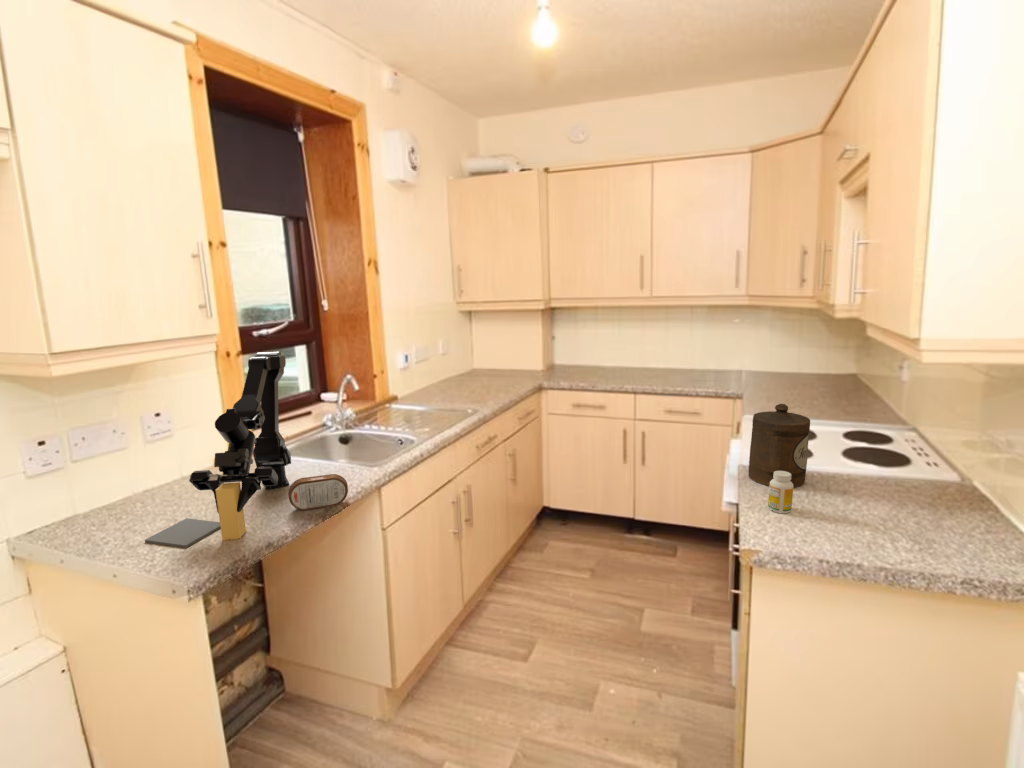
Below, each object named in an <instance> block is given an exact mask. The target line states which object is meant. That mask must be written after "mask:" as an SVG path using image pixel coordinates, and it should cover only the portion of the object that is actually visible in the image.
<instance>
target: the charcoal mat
mask: <svg viewBox="0 0 1024 768" xmlns="http://www.w3.org/2000/svg"><path fill="white" fill-rule="evenodd" d="M219 529H220V530H221V527H220V521H211V520H205V519H195V518H188V517H186V518H185V519H182V520H180V521H178V522H177V523H175V524H173V525H171V526H169V527H167V528H165V529H163V530H161V531H159V532H156V533H155V534H153V535H151V536H150V537H148V538H146V539H145V538H144V542H145V543H147V544H148V543H149V544H154V545H155V544H156V545H163V546H170V547H177V548H184V549H186V548H189V547H190V546H192V545H194V544H195V543H197V542H199V541H200V540H203V539H205V538H206V537H208V536H209V535H211V534H213V533H215V532H216V531H219Z"/></svg>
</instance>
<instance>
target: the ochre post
mask: <svg viewBox="0 0 1024 768" xmlns="http://www.w3.org/2000/svg"><path fill="white" fill-rule="evenodd" d="M241 488H242V486H241V482H227V483H222V484H221V485H220V486H219V487H218V488H217V489H216V498H217V505H218V512H219V513H218V512H217V513H218V520H219V522H220V527H221V528H220V534H221V539H222V541H226V540H227V541H228V540H229V539H230V540H239V539H238V538H240V539H241V538H242V537H243V536H244V534H245V533H246V531H247V528H246V520H245V514H244V513H245V512H244V511H245V510H244V508H243V509H242V510H241V511H240V512H238V511H237V505H238V500H239V496H240V492H241ZM242 535H243V536H242ZM241 536H242V537H241Z"/></svg>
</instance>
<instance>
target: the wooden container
mask: <svg viewBox="0 0 1024 768" xmlns="http://www.w3.org/2000/svg"><path fill="white" fill-rule="evenodd" d="M774 409H775V411H773V410H772V411H769V410H768V411H759V412H756V413H754V414H753V416H752V424H751V425H752V429H751V438H750V439H751V440H750V448H749V460H748V463H749V464H748V477H749V479H750V480H752V481H754V482H756V483H758V484H760V483H761V485H763V484H764V486H767V487H768V486H769V485H770V481H771V480H772V479H774V478H773V474H774V472H775V471H786V472H789V473H791V480H790V481H791V482H792V483H793V488H798V487H801V486H803V485H805V483H806V475H807V468H808V467H807V466H808V454H809V437H810V430H811V429H810V428H811V419H810V418H809V417H807V416H805V415H803V414H802V415H801V414H798V413H794V412H789V406H788V405H786V404H785V403H779V404H777V405H775V406H774Z"/></svg>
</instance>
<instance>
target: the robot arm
mask: <svg viewBox="0 0 1024 768" xmlns="http://www.w3.org/2000/svg"><path fill="white" fill-rule="evenodd" d="M286 361H287V360H286V356H285V355H282V353H281V352H280V351H273V352H272V351H271V352H269V351H267V352H257V353H256V355H254V356H250V357H249V359H248V360H247V365H248V369H247V374H246V378H245V382H244V386H243V388H242V390H243V391H242V392H241V397H240V399H238V400H237V401H236V402H235V403H234V404H233V406H232V408H226V411H225V412H223V413H222V414H221V415H219V416H218V417H217V419H216V420H215V421H214V428H215V429H216V431H217V432H218V433H219V434H220V436H221V437H222V438H223V439H224V441H226V442H227V443H228V447H227V450H226V451H224V452H215V453H214V461H213V462H214V465H213V466H214V468H217V467H218V472H219V473H220V472H221V473H222V474H218V473H213V472H212V471H211V470H210V469H207V470H206V469H205V470H194V471H193V472H191V474H190V476H189V481H188V482H189V483H191V485H192V486H194V488H196V489H197V490H198V491H212V493H213V495H214V501H215V506H216V512H217V513H218V514H219V512H218V505H217V498H216V489H217V488H218V487H219V486H220V485H221V484H222V483H238V482H240V483H241V492H240V496H239V500H238V505H237V511H238V512H240V511H241V510H242V509H243V510H244V508H245V506H246V504H247V503H248V501H250V499H251V498H252V497H253V496H254V494H256V492H257V491H260V490H261V489H262V486H261V485H263V486H264V489H265V490H269V489H275V488H281V487H285V486H289V485H290V482H289V480H288V478H287V474H286V473H287V472H286V466H288V465H291V464H292V457H291V456H292V454H291V451H289V449H288V447H287V446H286V441H285V439H284V437H283V435H282V434H281V433H280V430H279V427H280V425H279V422H280V421H279V382H280V380H281V379H282V377H283V375H284V374H285V367H286V363H287V362H286ZM258 429H260V430H261V431H260V432H259V435H258V437H256V435H255V433H254V432H253V431H252V430H258ZM253 459H254V460H253ZM253 463H255V466H256V468H255V469H254V471H253V472H251V471H250V470H251V465H253Z"/></svg>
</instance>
